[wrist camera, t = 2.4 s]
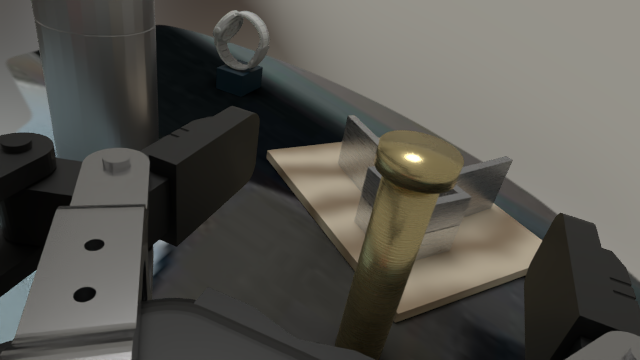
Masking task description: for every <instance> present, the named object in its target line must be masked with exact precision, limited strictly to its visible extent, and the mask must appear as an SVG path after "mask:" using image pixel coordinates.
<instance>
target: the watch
mask: <svg viewBox="0 0 640 360" xmlns="http://www.w3.org/2000/svg"><path fill="white" fill-rule="evenodd" d="M243 18H246V19H248V20H249V21H251V23H252V24H253V25H254V26H256V29H257V31H258V32H259V36H260V38H261V39H260V43H259V46H258V48H257V50H256V52H255V54H254V56H253V58H252V59H251V60H250V62H249V63H247V62H244V61H241V60H236V59H235V58H233V56H232V54H231V53H230V51H229V49H228V46H227V43H229V41H230V39H231V38H232V37H233V36H234V35H235V34H236V33H237V32H238V31H239V29H240V28H241V26H242V24H243ZM266 29H267V27H266V25H265V24H264V22H263V20H262V19H260V17H259V16H257V15H256V14H254V13H252V12H249V11H242V12H238V11H236V10H235V11H231V12H229V13H228V14H226V15H225V16H224V17H223V18H222V19H221V20H220V21H219V22H218V23H217V25H216V27H215V28H214V31H213V36H214V37H215V39H214V44H215V46H216V48H217V50H218V54H219V55H220V56H221V59H222V60H223V61H224V62H225V63H226V64H225V65H223V66H220V67H218V68H217V79H216V88H217V89H220V90H223V91H226V92H228V93H231V94H234V95H237V96H240V97H242V96H244V95H246V94H248V93H250V92H252V91H254V90H255V89H257V88H259V87H261V78H262V68H263V67H260V66H257V65H258V64H259V63H260V62H261V61H262V60H263V58H264V57H265V55H266V53H267V51H268V49H269V46H268V45H269V33H268V30H266ZM226 47H227V48H226ZM224 50H225V51H224Z"/></svg>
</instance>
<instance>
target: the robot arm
mask: <svg viewBox="0 0 640 360" xmlns="http://www.w3.org/2000/svg"><path fill="white" fill-rule="evenodd" d="M31 3H32V9H33V15H34V20H35V26H36V32H37V38H38V43H39V50H40V56H41V62H42V67H43V73H44V79H45V85H46V91H47V97H48V103H49V109H50V115H51V121H52V127H53V134H54V140H55V146H56V151H57V157H58V158H55V152H54V146H53V142H52V140H51V139H49V138H48V137H46V136H43V135H40V134H35V133H11V134H6V135H1V136H0V297H1V296H2V295H4V294H5V293H6V292H8V291H9V290H10V289H12V288H13V287H14V286H15V285H17V284H18V283H19V282H21V281H22V280H23V279H25V278H26V277H27V276H29V275H30V274H31V273H33V272H34V271H35V270H37V271H36V274H35V277H34V280H33V283H32V286H31V289H30V292H29V295H28V298H27V301H26V304H25V307H24V310H23V313H22V317H21V320H20V323H19V326H18V329H17V332H16V335H15V338H14V340H12V341H9V342H5V343H2V344H0V360H375V359H373V358H371V357H368V356H366V355H364V354H361V353H359V352H357V351H355V350H350V349H345V348H340V347H335V346H330V345H325V344H320V343H315V342H310V341H305V340H301V339H298V338H296V337H294V336H292V335H291V334H289V333H288V332H287V331H285V330H284V329H283V328H281V327H280V326H279V325H277V324H276V323H275V322H273V321H272V320H271V319H269V318H268V317H267V316H265V315H264V314H263V313H261V312H260V311H259V310H257V309H256V308H255V307H253V306H251V305H249V304H247V303H244V302H242V301H240V300H237V299H235V298H233V297H230V296H228V295H226V294H224V293H221V292H219V291H217V290H214V289H212V288H210V287H207V289H206V290H205V291H204V292H203V293H202V294H201V295H200V296H199V298H198V299H197V300H193V299H183V298H163V299H154V300H152V281H153V244H154V243H156V242H157V241H158V240H159V239H160V240H162V241H165V242H167V243H169V244H172V245H174V246H176V247H177V246H178V245H179V244H180V243H181V242H182V241H184V240H185V239H186V238H187V237H188V236H189V235H190V234H191V233H192V232H193V231H195V230H196V229H197V228H198V227H199V226H200V225H201V224H202V223H203V222H205V221H206V220H207V219H208V218H209V217H210V216H211V215H212V214H213V213H214V212H216V211H217V210H218V209H219V208H220V207H221V206H222V205H223V204H224V203H225V202H227V201H228V200H229V199H230V198H231V197H232V196H233V195H234V194H235V193H237V192H238V191H239V190H240V189H241V188H242V187H243V186H244V185H245V184H246V183H247V182H248V181H249V179H250V178H251V176H252V174H253V171H254V168H255V162H256V152H257V142H258V132H259V117H258V115H257V114H256V113H252V112H249V111H246V110H243V109H240V108H237V107H234V106H231V107H229V108H227V109H225V110H224V111H222V112H220V113H219V114H217V115H215V116H214V117H207V118H203V119H198V120H194V121H192V122H190V123H188V124H187V125H185V126H183V127H181V130H180V129H178V130H176V131H174V132H173V133H171V135H167V136H165V137H164V138H162V139H160V140H159V136H158V96H157V63H156V30H155V5H154V0H31ZM631 285H632V284H631V281H630V278H629V275H628V272H627V269H626V267H625V266H624V265H623V264H622V263H621V261H620V260H619V259H618V258H617V257H616V255H615V254H614V253H613V252H612V251H610V250H606V249H603V248H601V244H600V240H599V237H598V232H597V229H596V226H595V224H594V223H590V222H587V221H585V220H581V219H578V218H575V217H572V216H569V215H566V214H563V213H560V214H558V215H557V216H556V217H555V219H554V220H553V222H552V224H551V226H550V228H549V230H548V231H547V233H546V235H545V237H544V239H543V241H542V242H541V244H540V246H539V248H538V250H537V252H536V253H535V255H534V257H533V259H532V261H531V263H530V265H529V268H528V270H527V274H526V277H525V283H524V303H525V360H640V309H639V305H638V302H637V301H635V299H636V296H635V293H634V290H633V288H632V287H631Z"/></svg>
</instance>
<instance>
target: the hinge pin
mask: <svg viewBox="0 0 640 360" xmlns="http://www.w3.org/2000/svg"><path fill="white" fill-rule="evenodd" d="M463 164H464V159H463V156H462V155H461V153H460V152H459V151H458V150H457V149H456V148H454V147H453V146H452V145H450V144H449V143H447V142H445V141H443V140H441V139H439V138H436V137H434V136H431V135H428V134H424V133H420V132H415V131H406V130H398V131H391V132H388V133H385V134H384V135H382V136H381V138H380V140H379V144H378V148H377V151H376V155H375V159H374V165H375V168H376V170H377V171H378V172H379V173H380V174H381V175H382V176H381V180H380V183H379V187H378V191H377V194H376V198H375V201H374V205H373V209H372V212H371V216H370V220H369V223H368V227H367V230H366V234H365V238H364V241H363V245H362V248H361V252H360V256H359V259H358V263H357V267H356V270H355V274H354V277H353V281H352V285H351V288H350V292H349V295H348V299H347V303H346V306H345V310H344V314H343V317H342V321H341V324H340V328H339V332H338V335H337V339H336V343H335V347H340V348H345V349H350V350H355V351H357V352H359V353H361V354H364V355H366V356H368V357H371V358H373V359H375V360H379V358H380V355H381V352H382V350H383V347H384V344H385V342H386V339H387V336H388V333H389V331H390V328H391V325H392V322H393V320H394V317H395V314H396V311H397V309H398V306H399V303H400V301H401V298H402V295H403V292H404V290H405V287H406V284H407V281H408V279H409V276H410V273H411V270H412V268H413V265H414V262H415V260H416V257H417V254H418V251H419V249H420V246H421V243H422V240H423V238H424V235H425V232H426V229H427V227H428V224H429V221H430V219H431V216H432V213H433V210H434V208H435V205H436V202H437V199H438V197H439V194H440V193H444V192H448V191H450V190H451V189H453V188H454V187H455V185H456V183H457V180H458V177H459V175H460V172H461V170H462V167H463Z"/></svg>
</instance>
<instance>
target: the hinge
mask: <svg viewBox="0 0 640 360" xmlns="http://www.w3.org/2000/svg"><path fill="white" fill-rule="evenodd" d="M378 144H379V139H378V138H377V137H376V136H375V135H374V134H373V133H372V132H371V131H370V130H369V129H368V128H367V127H366V126H365V125H364V124H363V123H362V122H361V121H360V120H359V119H358V118H357V117H356V116H355V115H349V116H348V118H347V122H346V127H345V132H344V136H343V141H342V146H341V151H340V155H339V160H338V165H339V166H340V167H341V168H342V169H343V171H344V172H345V173H346V174H347V176H348V177H349V178H350V179H351V180H352V182H353V183H354V184H355V185H356V187H357V188H358V189H359V190H360V191H361V196H360V200H359V204H358V208H357V212H356V216H355V220H354V222H355V223H356V224H357V225H358V226H359V227H360V229H361V230H362V231H363V232H364V233H365V234H366V230H367V227H368V223H369V220H370V216H371V212H372V209H373V205H374V201H375V198H376V194H377V191H378V187H379V183H380V180H381V176H382V175H381V174H380V173H379V172H378V171H377V170H376V168H375V165H374V159H375V155H376V151H377V148H378ZM511 163H512V159H510V158H508V157H506V156H505V157H502V158H498V159H494V160H490V161H486V162H482V163H478V164H474V165H470V166H466V167H462V170H461V172H460V175H459V177H458V180H457V183H456V185H455V187H454V188H453V189H451V190H450V191H448V192H444V193H440V194H439V197H438V199H437V202H436V205H435V208H434V210H433V213H432V216H431V219H430V221H429V224H428V227H427V229H426V232H425V235H424V238H423V240H422V243H421V246H420V249H419V251H418V254H417V257H416V260H419V259H423V258H426V257H430V256H433V255H437V254H440V253H444V252H447V251H450V249H451V246H452V244H453V241H454V239H455V236H456V234H457V232H458V229H459V227H460V224H461V222H462V220H463V218H464V217H467V216H470V215H473V214H476V213H479V212H481V211H484V210H487V209H490V208H492V205H493V203H494V201H495V199H496V196H497V194H498V192H499V190H500V188H501V185H502V183H503V181H504V179H505V176H506V174H507V171H508V170H509V167H510V165H511ZM416 260H415V261H416Z"/></svg>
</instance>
